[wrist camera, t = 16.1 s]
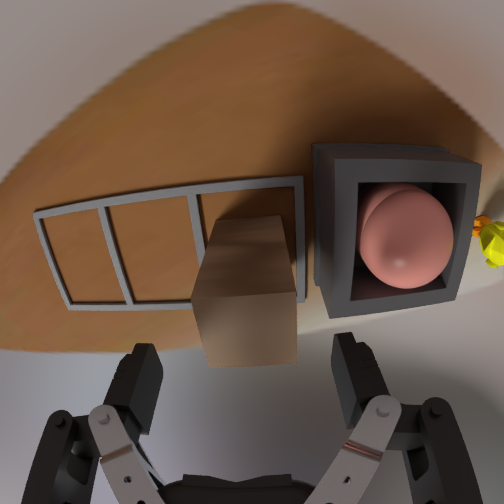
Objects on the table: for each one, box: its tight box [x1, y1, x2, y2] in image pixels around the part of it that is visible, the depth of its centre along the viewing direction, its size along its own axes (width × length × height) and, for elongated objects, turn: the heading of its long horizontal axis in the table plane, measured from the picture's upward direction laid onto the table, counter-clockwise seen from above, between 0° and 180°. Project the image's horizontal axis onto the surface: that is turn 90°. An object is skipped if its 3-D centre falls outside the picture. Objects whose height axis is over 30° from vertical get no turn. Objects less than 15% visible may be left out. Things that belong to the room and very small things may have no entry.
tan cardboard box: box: [190, 215, 297, 368], centre depth 17 cm, size 4×4×9 cm
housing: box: [312, 143, 482, 319], centre depth 18 cm, size 10×10×5 cm
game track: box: [32, 176, 305, 311], centre depth 21 cm, size 22×10×1 cm, turn 95°
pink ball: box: [355, 182, 454, 289], centre depth 16 cm, size 6×6×6 cm
